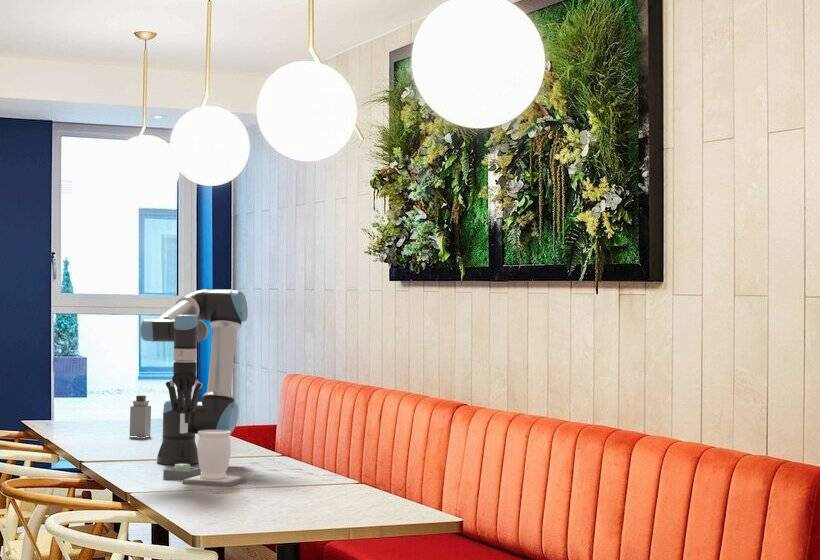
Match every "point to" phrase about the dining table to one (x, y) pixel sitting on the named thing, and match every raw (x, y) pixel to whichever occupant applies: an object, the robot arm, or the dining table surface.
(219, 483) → the board
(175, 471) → the button housing
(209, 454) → the jar
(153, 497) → the dining table surface
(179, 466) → the button
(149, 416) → the perfume bottle
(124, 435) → the dining table surface
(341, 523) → the dining table surface
